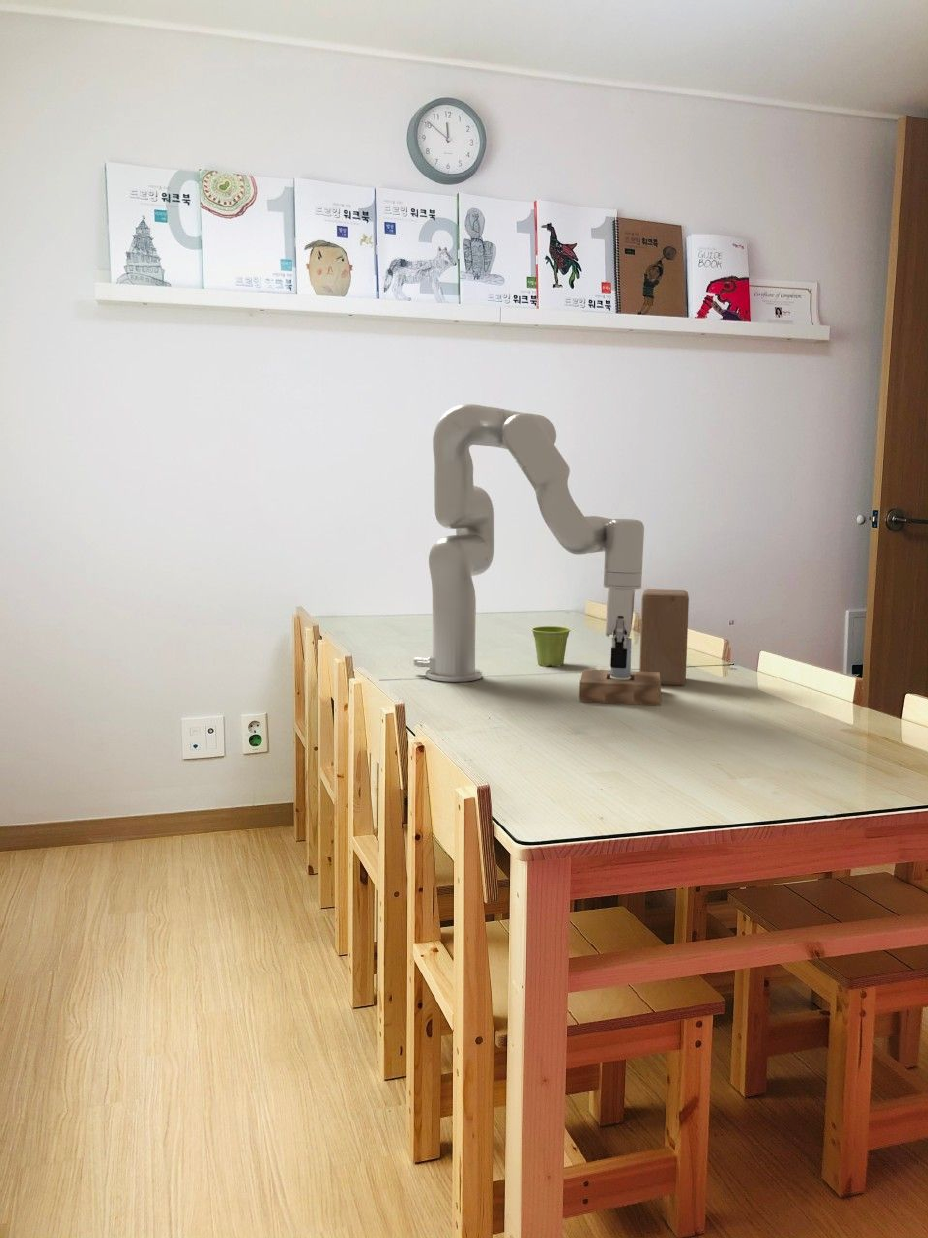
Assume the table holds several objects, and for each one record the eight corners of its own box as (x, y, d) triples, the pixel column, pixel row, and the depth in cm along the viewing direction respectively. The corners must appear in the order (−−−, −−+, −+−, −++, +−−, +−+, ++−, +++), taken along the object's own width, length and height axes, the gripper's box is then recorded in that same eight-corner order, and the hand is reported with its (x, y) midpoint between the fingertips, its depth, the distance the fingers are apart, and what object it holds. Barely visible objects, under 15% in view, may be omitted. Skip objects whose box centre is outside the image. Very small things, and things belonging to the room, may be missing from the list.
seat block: (579, 702, 203) (579, 682, 203) (582, 687, 217) (583, 669, 216) (660, 705, 200) (661, 685, 200) (658, 690, 214) (659, 672, 214)
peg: (609, 698, 207) (610, 640, 205) (609, 693, 211) (611, 636, 209) (630, 699, 206) (632, 640, 205) (630, 694, 210) (632, 637, 209)
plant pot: (551, 669, 237) (551, 633, 236) (522, 664, 244) (523, 628, 243) (578, 665, 243) (578, 629, 242) (549, 659, 250) (550, 624, 249)
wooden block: (685, 686, 219) (689, 594, 216) (638, 684, 221) (641, 593, 218) (685, 677, 229) (688, 589, 226) (640, 675, 231) (642, 588, 228)
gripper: (605, 575, 214) (601, 655, 217) (602, 584, 198) (598, 670, 200) (641, 576, 213) (637, 656, 216) (641, 585, 196) (637, 672, 199)
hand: (618, 663), depth 208 cm, fingers open, 9 cm apart
